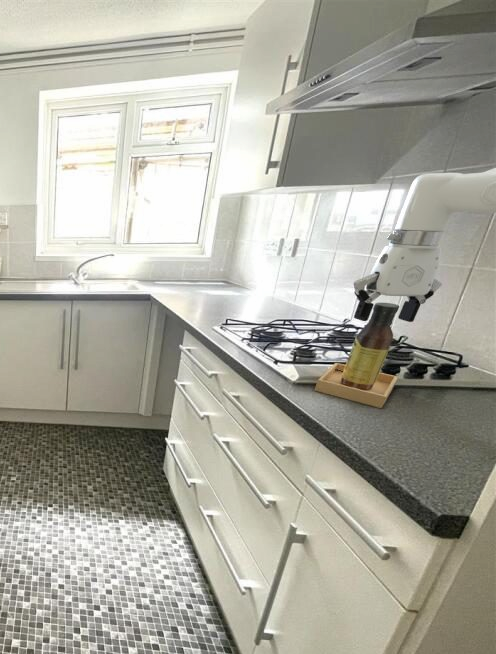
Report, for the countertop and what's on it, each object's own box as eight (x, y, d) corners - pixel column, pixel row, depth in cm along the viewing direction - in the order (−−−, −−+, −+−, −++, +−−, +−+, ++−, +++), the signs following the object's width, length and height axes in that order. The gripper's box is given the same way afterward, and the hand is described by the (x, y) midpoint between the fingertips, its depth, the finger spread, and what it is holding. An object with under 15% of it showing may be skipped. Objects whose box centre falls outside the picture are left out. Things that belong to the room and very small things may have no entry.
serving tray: (331, 372, 109) (335, 362, 108) (393, 387, 101) (398, 376, 100) (314, 390, 99) (318, 379, 98) (381, 408, 91) (386, 396, 90)
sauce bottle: (348, 379, 103) (380, 299, 95) (378, 388, 98) (414, 305, 90) (332, 383, 101) (363, 302, 93) (361, 393, 96) (397, 308, 88)
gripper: (387, 240, 83) (355, 323, 90) (477, 241, 82) (438, 325, 89) (358, 237, 90) (330, 315, 97) (441, 238, 89) (407, 316, 96)
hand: (382, 320), depth 93 cm, fingers open, 9 cm apart
